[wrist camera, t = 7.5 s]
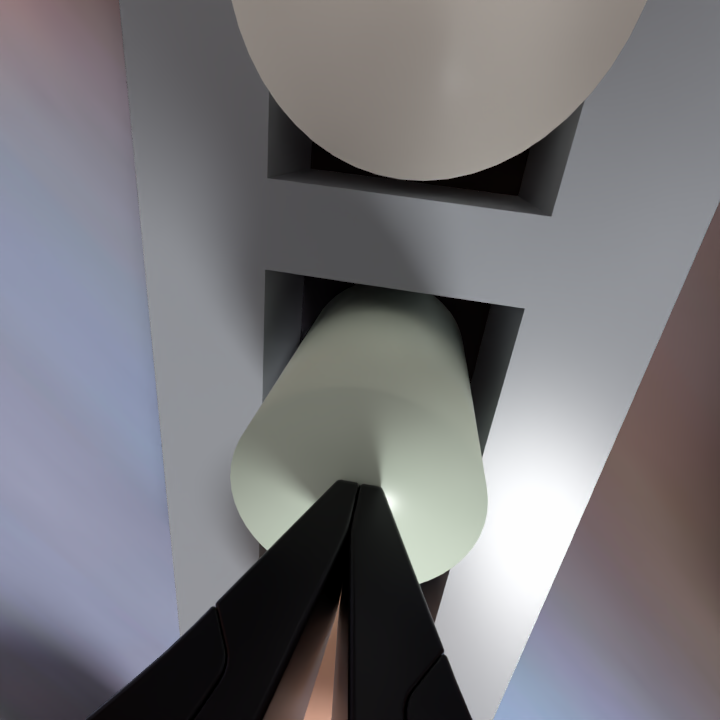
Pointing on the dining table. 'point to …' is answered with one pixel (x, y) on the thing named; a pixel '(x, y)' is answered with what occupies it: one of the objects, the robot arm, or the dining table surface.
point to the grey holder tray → (417, 290)
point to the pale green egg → (371, 426)
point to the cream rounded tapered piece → (432, 74)
